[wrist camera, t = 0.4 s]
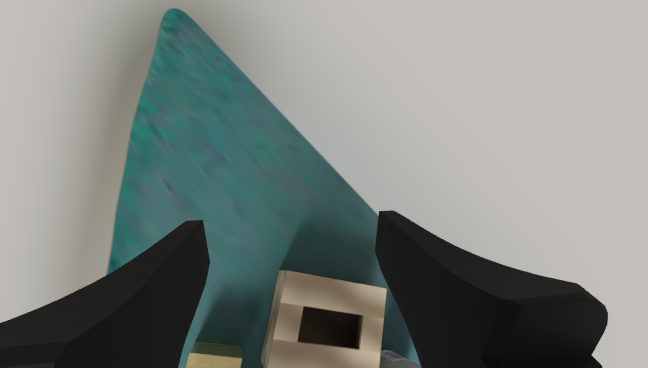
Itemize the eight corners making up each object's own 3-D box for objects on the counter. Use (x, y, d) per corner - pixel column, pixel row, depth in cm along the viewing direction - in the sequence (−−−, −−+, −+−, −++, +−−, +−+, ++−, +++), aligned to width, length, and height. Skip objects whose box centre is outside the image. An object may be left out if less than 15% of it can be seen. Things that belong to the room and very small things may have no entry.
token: (236, 365, 34) (237, 381, 29) (190, 360, 33) (183, 376, 28) (240, 346, 34) (242, 358, 30) (195, 340, 33) (189, 352, 29)
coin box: (355, 369, 37) (377, 386, 32) (260, 358, 35) (266, 375, 29) (365, 285, 40) (386, 288, 35) (278, 269, 38) (287, 270, 32)
